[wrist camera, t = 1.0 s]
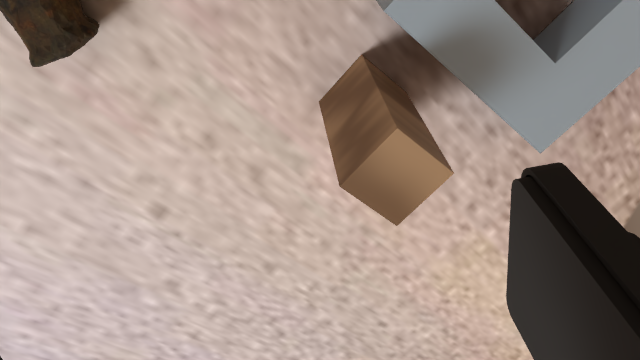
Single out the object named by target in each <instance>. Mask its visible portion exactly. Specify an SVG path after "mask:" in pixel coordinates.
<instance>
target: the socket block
mask: <svg viewBox="0 0 640 360" xmlns="http://www.w3.org/2000/svg"><path fill="white" fill-rule="evenodd" d="M376 1H377V2H378V4H379V5H380V6H381V8H382V9H383V11H384V12H385V13H387V14H388V15H389V16H390V17H391V18H392V19H393V20H394V21H395V22H396V23H397V24H399V25H400V26H401V27H402V28H403V29H404V30H405V31H406V32H407V33H408V34H410V35H411V36H412V37H413V38H414V39H415V40H416V41H417V42H418V43H419V44H421V45H422V46H423V47H424V48H425V49H426V50H427V51H428V52H429V53H430V54H432V55H433V56H434V57H435V58H436V59H437V60H438V61H439V62H440V63H441V64H443V65H444V66H445V67H446V68H447V69H448V70H449V71H450V72H451V73H452V74H454V75H455V76H456V77H457V78H458V79H459V80H460V81H461V82H462V83H463V84H465V85H466V86H467V87H468V88H469V89H470V90H471V91H472V92H473V93H474V94H476V95H477V96H478V97H479V98H480V99H481V100H482V101H483V102H484V103H485V104H487V105H488V106H489V107H490V108H491V109H492V110H493V111H494V112H495V113H496V114H497V115H499V116H500V117H501V118H502V119H503V120H504V121H505V122H506V123H507V124H508V125H510V126H511V127H512V128H513V129H514V130H515V131H516V132H517V133H518V134H519V135H521V136H522V137H523V138H524V139H525V140H526V141H527V142H528V143H529V144H530V145H532V146H533V147H534V148H535V149H536V150H537V151H538V152H539V153H542V152H543V151H544V150H545V149H546V148H547V147H548V146H550V145H551V144H552V143H553V142H554V141H555V140H556V139H558V138H559V137H560V136H561V135H562V134H563V133H564V132H566V131H567V130H568V129H569V128H570V127H571V126H572V125H574V124H575V123H576V122H577V121H578V120H579V119H580V118H582V117H583V116H584V115H585V114H586V113H587V112H588V111H589V110H591V109H592V108H593V107H594V106H595V105H596V104H597V103H599V102H600V101H601V100H602V99H603V98H604V97H605V96H607V95H608V94H609V93H610V92H611V91H612V90H613V89H615V88H616V87H617V86H618V85H619V84H620V83H621V82H623V81H624V80H625V79H626V78H627V77H628V76H629V75H631V74H632V73H633V72H634V71H635V70H636V69H637V68H639V67H640V0H574V1H573V2H572V3H571V4H570V5H569V6H568V7H567V8H566V9H565V10H564V11H563V12H562V13H561V14H560V15H559V16H558V17H557V18H556V19H555V20H554V21H553V22H552V23H550V24H549V25H548V26H547V27H546V28H545V29H544V30H543V31H542V32H541V33H540V34H539V35H538V36H537V37H536V38H535V39H534V40H532V39H531V38H530V37H529V36H528V35H527V34H526V33H525V31H524V30H523V29H522V28H521V27H520V26H519V25H518V24H517V23H516V22H515V21H514V20H513V19H512V18H511V17H510V16H509V15H508V14H507V13H506V12H505V11H504V10H503V9H502V7H501V6H500V5H499V4H498V3H497V2H496V1H495V0H376Z"/></svg>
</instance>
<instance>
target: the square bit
mask: <svg viewBox="0 0 640 360" xmlns="http://www.w3.org/2000/svg"><path fill="white" fill-rule="evenodd" d="M319 104H320V108H321V112H322V116H323V120H324V124H325V129H326V133H327V137H328V141H329V145H330V149H331V153H332V157H333V161H334V165H335V169H336V173H337V177H338V182H339V186H340V187H341V188H343V189H344V190H346V191H347V192H348V193H350V194H351V195H353V196H354V197H356V198H357V199H359V200H360V201H361V202H363V203H364V204H366V205H367V206H369V207H370V208H372V209H373V210H375V211H376V212H377V213H379V214H380V215H382V216H383V217H385V218H386V219H388V220H389V221H390V222H392V223H393V224H395V225H396V226H397V225H398V224H400V223H401V222H402V221H403V220H404V219H405V218H406V217H407V216H408V215H409V214H410V213H411V212H413V211H414V210H415V209H416V208H417V207H418V206H419V205H420V204H421V203H422V202H423V201H424V200H426V199H427V198H428V197H429V196H430V195H431V194H432V193H433V192H434V191H435V190H436V189H437V188H439V187H440V186H441V185H442V184H443V183H444V182H445V181H446V180H447V179H448V178H449V177H450V176H452V175H453V174H454V172H453V171H452V169H451V167H450V166H449V164H448V162H447V161H446V159H445V157H444V155H443V154H442V152H441V150H440V149H439V147H438V145H437V144H436V142H435V140H434V138H433V137H432V135H431V133H430V132H429V130H428V128H427V127H426V125H425V123H424V121H423V120H422V118H421V116H420V115H419V113H418V111H417V110H416V108H415V106H414V105H413V103H412V101H411V99H410V98H409V96H408V94H407V93H406V92H405V91H404V90H403V89H402V88H401V87H399V86H398V85H397V84H396V83H395V82H393V81H392V80H391V79H390V78H389V77H388V76H386V75H385V74H384V73H383V72H382V71H380V70H379V69H378V68H377V67H376V66H374V65H373V64H372V63H371V62H370V61H369V60H367V59H366V58H365V57H364V56H363V55H361V56H360V57H359V58H358V59H357V60H356V61H355V62H354V63H353V65H352V66H351V67H350V68H349V69H348V70H347V71H346V72H345V73H344V75H343V76H342V77H341V78H340V79H339V80H338V81H337V82H336V83H335V85H334V86H333V87H332V88H331V89H330V90H329V91H328V92H327V93H326V95H325V96H324V97H323V98H322V99H321V100H320V101H319Z"/></svg>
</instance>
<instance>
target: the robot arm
mask: <svg viewBox="0 0 640 360" xmlns="http://www.w3.org/2000/svg"><path fill="white" fill-rule="evenodd" d="M506 297H507V305H508V309H509V312H510V315H511V317H512V319H513V321H514V323H515V325H516V327H517V329H518V330H519V332H520V334H521V336H522V338H523V340H524V342H525V344H526V345H527V347H528V349H529V351H530V353H531V355H532V357H533V359H534V360H640V238H639V237H637V236H636V235H635V234H633V233H629V232H627V231H626V230H625V229H624V228H623V227H622V225H621V224H620V223H619V222H618V221H617V220H616V219H615V218H614V217H613V216H612V215H611V214H610V213H609V212H608V211H607V209H606V208H605V207H604V206H603V205H602V204H601V203H600V202H599V201H598V200H597V199H596V198H595V197H594V196H593V195H592V193H591V192H590V191H589V190H588V189H587V188H586V187H585V186H584V185H583V184H582V183H581V182H580V181H579V180H578V179H577V177H576V176H575V175H574V174H573V173H572V172H571V171H570V170H569V169H568V168H567V167H566V166H565V165H564V164H562V163H553V164H547V165H542V166H536V167H531V168H526V169H525V170H523V173H522V176H521V178H519V179H515V180H513V183H512V189H511V210H510V231H509V252H508V272H507V293H506ZM0 360H3V359H2V358H1V357H0Z"/></svg>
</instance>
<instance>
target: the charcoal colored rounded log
mask: <svg viewBox="0 0 640 360" xmlns="http://www.w3.org/2000/svg"><path fill="white" fill-rule="evenodd" d="M0 11H1V12H2V13H3V15H4V16H5V18H6V19H7V21H8V22H9V23H10V24H11V25H12V26H13V27H14V29H15V31H16V32H17V33H18V34H19V36H20V37H21V39H22V40H23V42H24V44H25V45H26V47H27V49H28V50H29V59H30V63H31V65H32V67H40V66H43V65H46V64H48V63H51V62H53V61H56V60H59V59H61V58H65V57H68V56H70V55H72V54H73V53H74V52H75V51H77V50H78V49H80V48H81V47H82V46H84V45H85V44H86V43H87V42H88V41H89V40H90V39H92V38H93V37H94V36H95V35H96V34H97V32H98V28H99V24H98V22H97V21H95V20H94V19H91V18H89V17H86V16H85V15H84V13H83V10H82V6H81V3H80V1H79V0H0Z"/></svg>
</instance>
